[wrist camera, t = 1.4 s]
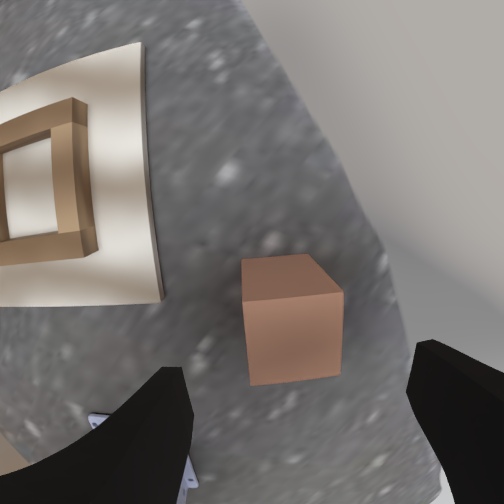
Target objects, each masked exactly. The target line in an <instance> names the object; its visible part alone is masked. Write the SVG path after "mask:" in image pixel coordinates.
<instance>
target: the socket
mask: <svg viewBox="0 0 504 504" xmlns="http://www.w3.org/2000/svg"><path fill="white" fill-rule="evenodd" d="M163 299H164V291H163V285H162V278H161V272H160V265H159V258H158V251H157V243H156V235H155V227H154V219H153V210H152V200H151V189H150V178H149V165H148V151H147V134H146V109H145V47H144V46H143V44H142V43H141V42H138V43H134V44H130V45H126V46H122V47H118V48H114V49H110V50H107V51H103V52H100V53H96V54H93V55H90V56H87V57H84V58H81V59H78V60H75V61H72V62H69V63H66V64H63V65H61V66H58V67H55V68H53V69H50V70H48V71H45V72H43V73H40V74H38V75H35V76H33V77H31V78H29V79H26V80H24V81H22V82H20V83H18V84H15V85H13V86H11V87H9V88H7V89H5V90H3V91H1V92H0V307H53V306H97V305H124V304H146V303H161V302H162V300H163Z"/></svg>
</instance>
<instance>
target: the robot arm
mask: <svg viewBox="0 0 504 504" xmlns="http://www.w3.org/2000/svg"><path fill="white" fill-rule="evenodd" d="M406 393H407V396H408V399H409V402H410V404H411V407H412V410H413V412H414V415H415V417H416V419H417V421H418V423H419V424H420V426H421V428H422V430H423V432H424V434H425V435H426V437H427V439H428V441H429V443H430V445H431V446H432V448H433V450H434V452H435V454H436V456H437V458H438V460H439V461H440V463H441V465H442V468H443V470H444V472H445V474H446V477H447V480H448V483H449V486H450V488H451V492H452V494H453V498H454V502H455V504H504V373H503V372H501V371H499V370H496V369H494V368H492V367H490V366H488V365H486V364H483V363H481V362H479V361H477V360H475V359H473V358H471V357H469V356H467V355H465V354H463V353H461V352H459V351H457V350H455V349H453V348H451V347H449V346H447V345H445V344H443V343H441V342H438V341H436V340H433V339H431V340H427V341H422V342H418V343H417V344H416V349H415V354H414V359H413V364H412V368H411V373H410V377H409V381H408V385H407V389H406ZM88 420H89V422H90V424H91V426H92V428H93V430H92V431H90V432H89V433H87V434H86V435H85V436H83V437H82V438H80V439H79V440H77V441H76V442H74V443H72V444H71V445H69V446H68V447H66V448H64V449H63V450H61V451H59V452H57V453H55V454H53V455H51V456H49V457H47V458H45V459H43V460H41V461H39V462H37V463H35V464H33V465H30V466H28V467H25V468H23V469H20V470H17V471H15V472H11V473H9V474H6V475H2V476H0V504H186V498H187V491H188V488H197V487H198V480H197V478H196V475H195V472H194V469H193V466H192V463H191V461H190V458H189V455H188V454H189V450H190V445H191V439H192V431H193V420H194V413H193V410H192V406H191V402H190V399H189V395H188V391H187V387H186V383H185V379H184V375H183V371H182V367H161V368H160V369H159V370H158V371H157V372H156V373H155V374H154V375H153V376H152V377H151V378H150V379H149V380H148V381H147V382H146V383H145V384H144V385H143V386H142V387H141V388H140V389H139V390H138V391H137V392H136V393H135V394H134V395H133V396H131V397H130V398H129V399H128V400H127V401H126V402H125V403H124V404H123V405H122V406H121V407H120V408H118V409H117V410H116V411H115V412H114V413H113V414H111V415H110V416H109V415H99V414H90V415H89V416H88Z"/></svg>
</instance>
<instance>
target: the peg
mask: <svg viewBox="0 0 504 504" xmlns="http://www.w3.org/2000/svg"><path fill="white" fill-rule="evenodd" d="M241 267H242V305H243V315H244V326H245V336H246V346H247V356H248V366H249V376H250V385H251V386H255V385H267V384H277V383H286V382H294V381H302V380H310V379H317V378H323V377H330V376H336V375H340V371H341V355H342V336H343V308H344V291H343V290H342V289H341V288H340V287H339V286H338V285H337V284H336V283H335V282H334V281H333V280H332V279H331V278H330V276H329V275H328V274H327V273H326V272H325V271H324V270H323V269H322V268H321V267H320V266H319V265H318V264H317V263H316V262H315V261H314V260H313V259H312V258H311V256H310V255H309V254H297V255H285V256H273V257H262V258H250V259H241Z"/></svg>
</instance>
